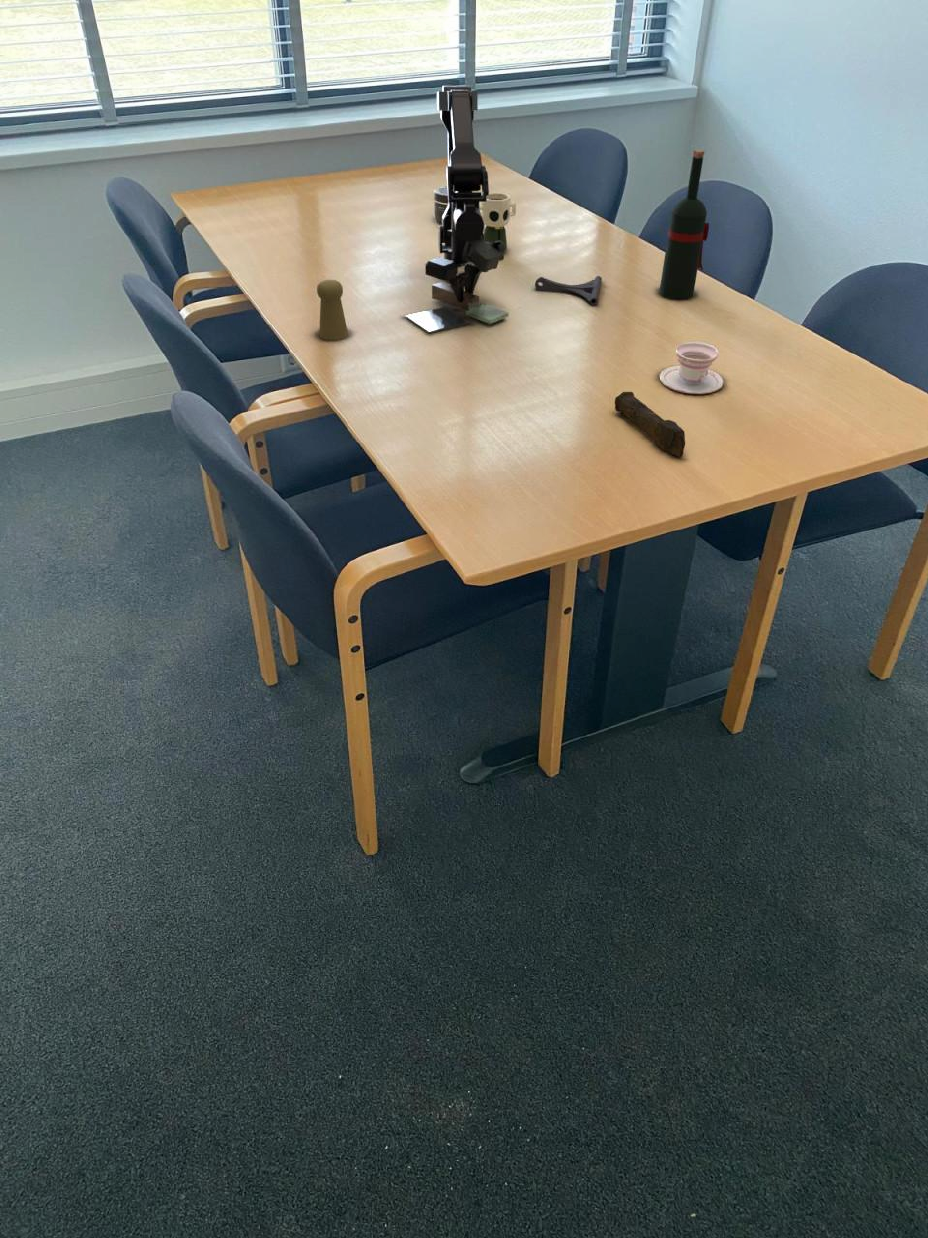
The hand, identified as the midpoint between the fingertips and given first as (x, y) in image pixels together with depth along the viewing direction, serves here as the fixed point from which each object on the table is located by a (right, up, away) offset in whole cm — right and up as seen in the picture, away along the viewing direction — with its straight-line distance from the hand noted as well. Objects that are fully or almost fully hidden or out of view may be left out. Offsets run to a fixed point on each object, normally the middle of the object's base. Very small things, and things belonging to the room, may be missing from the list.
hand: (464, 300), depth 200 cm
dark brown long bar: (+33, -37, -40) cm, 64 cm away
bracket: (+24, +6, +11) cm, 27 cm away
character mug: (+8, +24, +33) cm, 41 cm away
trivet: (-6, -5, -3) cm, 8 cm away
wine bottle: (+50, +6, +11) cm, 51 cm away
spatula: (+1, -2, +1) cm, 2 cm away
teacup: (+43, -24, -24) cm, 55 cm away
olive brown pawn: (-27, -10, -9) cm, 30 cm away
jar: (-3, +40, +52) cm, 65 cm away
